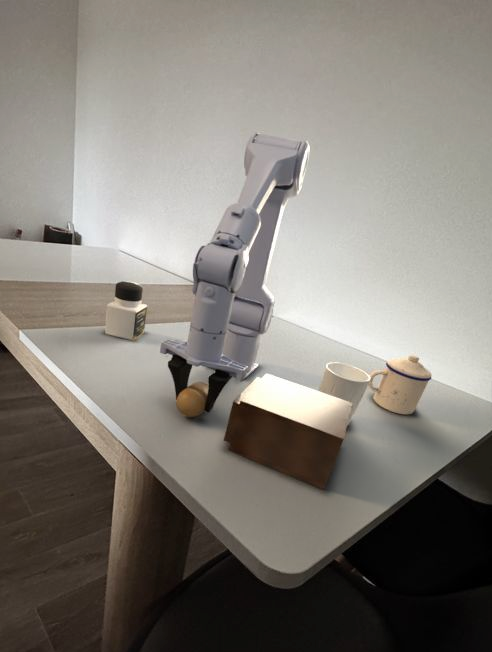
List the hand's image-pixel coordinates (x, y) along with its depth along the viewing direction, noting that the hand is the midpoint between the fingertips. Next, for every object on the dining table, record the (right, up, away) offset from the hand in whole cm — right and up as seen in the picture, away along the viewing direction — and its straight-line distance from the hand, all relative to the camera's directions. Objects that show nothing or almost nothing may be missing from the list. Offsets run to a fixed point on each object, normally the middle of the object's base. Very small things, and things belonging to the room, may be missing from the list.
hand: (194, 404), depth 66 cm
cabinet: (+14, -7, -4) cm, 17 cm away
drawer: (+13, -5, -4) cm, 14 cm away
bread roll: (0, -1, +1) cm, 1 cm away
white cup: (+25, -3, +8) cm, 27 cm away
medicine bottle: (-18, +16, +28) cm, 37 cm away
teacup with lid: (+41, -1, +20) cm, 46 cm away
